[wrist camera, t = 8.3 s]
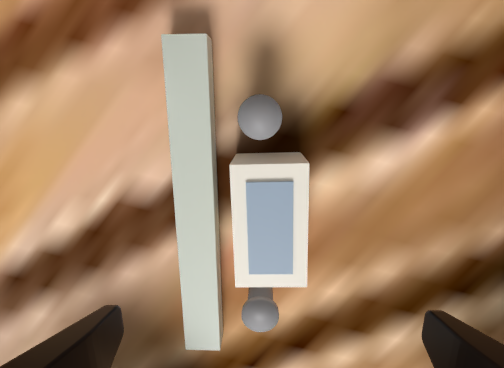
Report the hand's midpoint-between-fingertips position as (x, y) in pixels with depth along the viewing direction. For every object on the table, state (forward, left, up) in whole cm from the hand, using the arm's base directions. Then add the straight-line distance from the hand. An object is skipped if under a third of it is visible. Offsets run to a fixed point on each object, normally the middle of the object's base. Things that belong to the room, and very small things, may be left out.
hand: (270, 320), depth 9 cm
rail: (+2, 0, -11) cm, 11 cm away
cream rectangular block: (0, 0, -11) cm, 11 cm away
